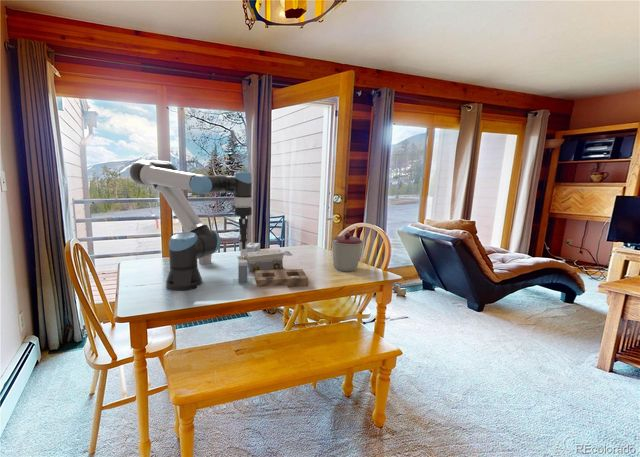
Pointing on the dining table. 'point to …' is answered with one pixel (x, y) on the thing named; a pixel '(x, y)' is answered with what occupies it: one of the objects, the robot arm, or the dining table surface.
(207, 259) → the coffee cup
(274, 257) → the electrical outlet
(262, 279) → the socket board
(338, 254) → the canister
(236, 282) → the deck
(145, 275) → the dining table surface
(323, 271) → the dining table surface
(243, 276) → the plug
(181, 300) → the dining table surface
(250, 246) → the light bulb box
